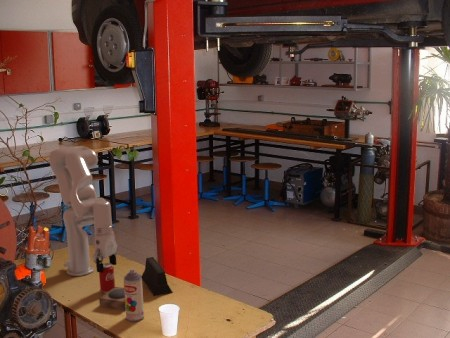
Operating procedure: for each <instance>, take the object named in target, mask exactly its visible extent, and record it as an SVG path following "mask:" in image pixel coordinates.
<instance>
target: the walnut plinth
mask: <svg viewBox="0 0 450 338" xmlns="http://www.w3.org/2000/svg"><path fill="white" fill-rule="evenodd" d="M98 300H99V301H98V302H99V308H104V309H109V310H115V311H116V310H117V311H122V312H126V305H125V291H124V287H120V286H115V287H114V288H113V289H111V290H110V291H108V292H107V293H103V295H101V296H99V297H98Z"/></svg>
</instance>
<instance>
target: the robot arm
mask: <svg viewBox="0 0 450 338" xmlns="http://www.w3.org/2000/svg"><path fill="white" fill-rule="evenodd" d="M48 156H49V157H48V161H49V165H50V168H51V170H52V172H53V174H54V175H55V178H56V181H57V185H58V188H59V192H60V197H61V200H62V202H63V204H64V205H65V206H71V207H70V208H68V209H66V210H65V211H64V212H63V214H62V215H63V216H62V220H63V223H64V227H65V230H66V238H67V250H68V251H67V253H68V260H65V261H64V264H63V267H67V269H66V275H68V276H72V277H81V276H82V277H83V276H86V275H90V274H91V273H93V272H94V270H95V267H94V265H92V264H91V259H90V247H89V245H90V244H89V236H88V233H87V231H85V230H84V229H83V227H86V226H91V225H93V228H94V253H93V255H92V256H91V257H92V259H93V262H94V264H96V265H95V266H96V273H99V272H100V273H103V272H104V267H103V264H104V259H109V263H111V264H112V266H116V265H117V251H118V243H117V242H116V236H115V232H114V231H113V221H112V220H113V219H112V206H111V202H110V201H108V200H106V199H105V198H104V197H98V195H97V192H96V189H95V187H94V185H93V184H92V182H93V179H94V178H93V175H92V173H91V171H90V168H91V169H92V168H95V167H96V166H97V165H98V162H99V159H98V155H97V154H96V151H94V150H93V149H91V148H89V147H87V146H84V145H80V146H78V145H77V146H71V147H69V146H68V147H62V148H56V149H54V150H52V151H50V152H49V155H48Z"/></svg>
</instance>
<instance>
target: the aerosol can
mask: <svg viewBox="0 0 450 338" xmlns="http://www.w3.org/2000/svg"><path fill="white" fill-rule="evenodd" d="M141 276H142V274H139V272H137V271H135V268H130V269H129V271H128V273H127V274H126V275H125V276H124V277H123V288H124V291H125V305H126V311H125V315H126V320H127V322H130V323H137V322H141V321H143V320H144V319H145V312H144V311H145V310H144V307H145V306H144V295H143V294H144V293H143V291H144V290H143V280H142V278H141Z"/></svg>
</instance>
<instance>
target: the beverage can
mask: <svg viewBox="0 0 450 338" xmlns="http://www.w3.org/2000/svg"><path fill="white" fill-rule="evenodd" d="M103 267H104V272H103V273H100V272H98V277H99V286H100V287H99V288H100V289H99V290H100V291H101V292H102V293H103V294H106V293H107V292H108V291H110V290H111V289H113V288H114V287H116V284H115V283H116V281H115V279H116V278H115V270H114V269H115V267H114V265H112V264H111V263H110V262H103Z"/></svg>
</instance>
